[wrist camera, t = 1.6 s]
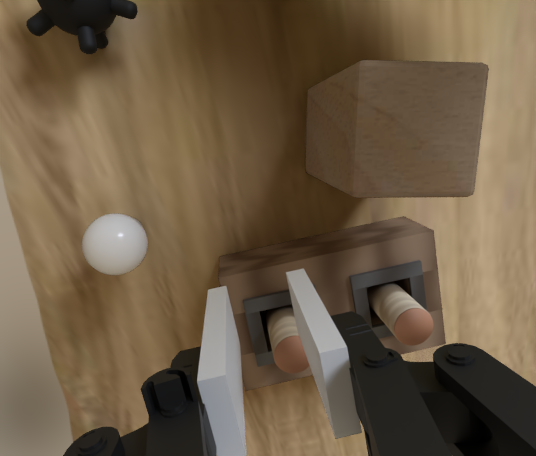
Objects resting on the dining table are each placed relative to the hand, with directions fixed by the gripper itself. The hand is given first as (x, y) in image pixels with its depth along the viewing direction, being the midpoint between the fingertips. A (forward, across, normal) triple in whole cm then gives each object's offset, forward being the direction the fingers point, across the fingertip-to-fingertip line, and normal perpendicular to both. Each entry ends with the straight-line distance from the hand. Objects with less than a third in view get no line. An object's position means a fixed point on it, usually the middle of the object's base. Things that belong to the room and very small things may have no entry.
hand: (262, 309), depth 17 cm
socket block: (+35, +8, -14) cm, 38 cm away
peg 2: (+28, +14, -14) cm, 35 cm away
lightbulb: (+35, -14, -1) cm, 37 cm away
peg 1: (+28, +2, -14) cm, 32 cm away
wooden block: (+35, +14, +4) cm, 38 cm away
